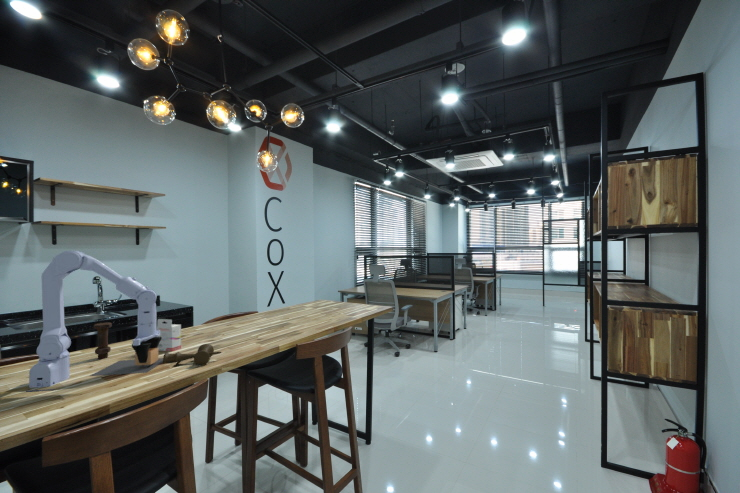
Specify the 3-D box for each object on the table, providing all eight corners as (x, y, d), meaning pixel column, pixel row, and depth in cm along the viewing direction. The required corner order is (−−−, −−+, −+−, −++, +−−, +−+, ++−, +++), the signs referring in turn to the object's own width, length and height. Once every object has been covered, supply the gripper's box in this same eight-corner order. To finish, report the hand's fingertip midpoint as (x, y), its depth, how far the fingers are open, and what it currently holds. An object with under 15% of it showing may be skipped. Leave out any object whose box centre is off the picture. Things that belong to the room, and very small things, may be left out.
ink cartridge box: (182, 351, 141) (181, 317, 141) (172, 355, 136) (171, 319, 136) (166, 350, 143) (166, 316, 143) (156, 353, 138) (156, 318, 139)
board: (147, 376, 111) (147, 359, 112) (89, 380, 109) (89, 362, 109) (169, 361, 127) (169, 346, 127) (119, 364, 125) (119, 348, 125)
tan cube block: (150, 364, 117) (150, 352, 117) (135, 365, 116) (135, 352, 116) (158, 359, 122) (158, 347, 122) (143, 360, 121) (143, 348, 121)
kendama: (167, 363, 127) (223, 355, 134) (160, 372, 118) (220, 363, 124) (167, 348, 127) (222, 341, 133) (159, 356, 118) (219, 348, 124)
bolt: (115, 359, 131) (115, 322, 131) (103, 363, 126) (103, 325, 126) (102, 359, 132) (102, 322, 132) (90, 363, 127) (90, 325, 127)
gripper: (148, 326, 113) (148, 366, 112) (168, 318, 127) (168, 353, 127) (125, 327, 112) (126, 367, 111) (149, 319, 126) (149, 354, 126)
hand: (147, 360), depth 119 cm, fingers closed on tan cube block, 5 cm apart
